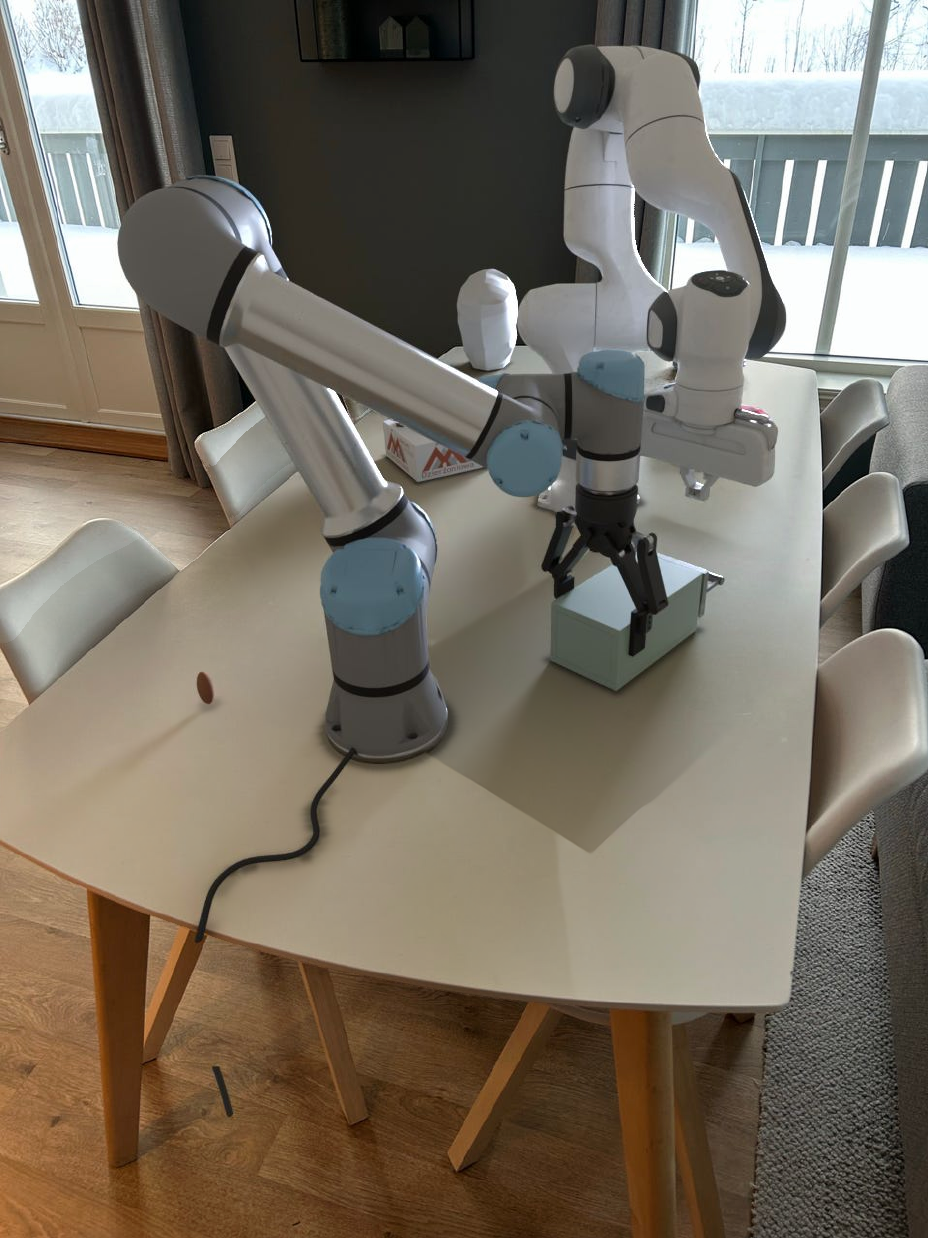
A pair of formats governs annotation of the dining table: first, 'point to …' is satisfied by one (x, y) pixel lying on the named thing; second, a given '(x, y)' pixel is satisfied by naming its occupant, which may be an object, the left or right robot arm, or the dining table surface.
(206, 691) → the brown oval piece
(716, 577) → the drawer
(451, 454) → the white red logo box
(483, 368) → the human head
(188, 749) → the dining table surface
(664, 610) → the cabinet
